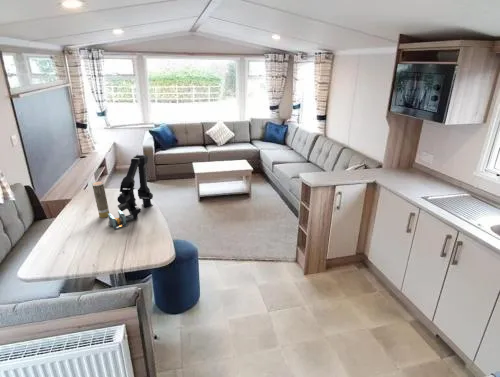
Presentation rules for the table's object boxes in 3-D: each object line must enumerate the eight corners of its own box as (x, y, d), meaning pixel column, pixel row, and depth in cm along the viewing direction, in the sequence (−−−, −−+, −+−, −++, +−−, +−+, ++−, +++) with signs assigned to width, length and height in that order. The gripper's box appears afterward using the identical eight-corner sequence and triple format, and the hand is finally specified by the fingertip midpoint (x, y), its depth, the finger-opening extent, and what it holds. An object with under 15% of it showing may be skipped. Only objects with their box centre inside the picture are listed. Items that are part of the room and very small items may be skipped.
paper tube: (111, 213, 223) (105, 181, 213) (106, 218, 216) (99, 185, 206) (102, 213, 223) (95, 181, 213) (97, 218, 217) (90, 185, 207)
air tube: (111, 227, 204) (110, 221, 203) (109, 225, 207) (108, 219, 206) (138, 219, 215) (137, 213, 213) (136, 217, 218) (135, 211, 216)
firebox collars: (108, 221, 212) (106, 212, 209) (121, 218, 216) (119, 208, 213) (115, 230, 202) (113, 220, 199) (127, 226, 206) (125, 216, 203)
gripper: (113, 196, 211) (117, 216, 217) (122, 205, 197) (126, 227, 203) (130, 192, 217) (133, 211, 223) (139, 201, 203) (142, 221, 209)
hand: (133, 218), depth 215 cm, fingers open, 6 cm apart
